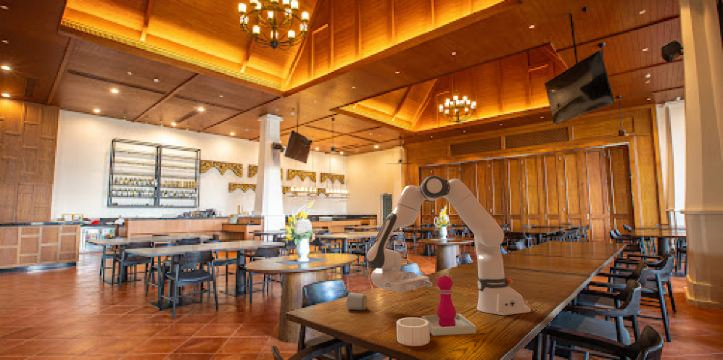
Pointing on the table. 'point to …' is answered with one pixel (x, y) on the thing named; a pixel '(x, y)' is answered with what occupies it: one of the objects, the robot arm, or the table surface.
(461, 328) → the sage tray
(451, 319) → the pepper mill
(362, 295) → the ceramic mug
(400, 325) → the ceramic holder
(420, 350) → the table surface
